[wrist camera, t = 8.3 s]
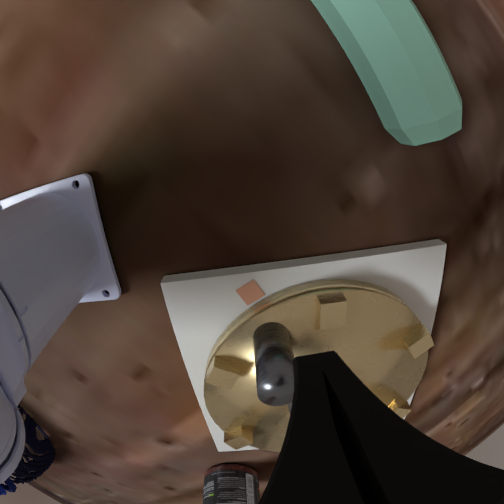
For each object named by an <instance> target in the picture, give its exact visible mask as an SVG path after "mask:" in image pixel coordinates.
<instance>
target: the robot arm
mask: <svg viewBox="0 0 504 504" xmlns="http://www.w3.org/2000/svg"><path fill="white" fill-rule="evenodd" d="M76 180H77V181H78V182H79V188H78V187H76V185H75V182H76ZM1 206H2V209H1ZM105 290H107V291H108V292H109V294H107V293H106V292H105ZM120 295H121V288H120V284H119V281H118V278H117V275H116V272H115V268H114V265H113V262H112V258H111V255H110V251H109V248H108V244H107V240H106V237H105V233H104V229H103V225H102V221H101V217H100V213H99V208H98V204H97V200H96V195H95V190H94V185H93V181H92V178H91V176H90V175H89V174H87V173H83V174H80V175H76V176H73V177H69V178H66V179H62V180H59V181H56V182H53V183H49V184H46V185H43V186H40V187H37V188H34V189H31V190H28V191H25V192H22V193H19V194H17V195H14V196H11V197H8V198H6V199H3V200H0V484H1V483H2V482H4V481H5V480H6V479H7V478H8V477H9V476H10V475H11V474H12V473H13V472H14V470H15V469H16V468H17V466H18V464H19V462H20V460H21V457H22V454H23V451H24V446H25V427H24V422H23V419H22V416H21V414H20V412H19V410H18V408H17V406H18V405H19V403H20V401H21V400H22V398H23V396H24V395H25V393H26V391H27V390H26V387H25V384H24V377H25V375H26V373H27V372H28V371H29V369H30V368H31V366H32V365H33V363H34V362H35V360H36V359H37V357H38V356H39V355H40V353H41V352H42V350H43V349H44V348H45V346H46V345H47V343H48V342H49V341H50V339H51V338H52V337H53V335H54V334H55V333H56V331H57V330H58V329H59V327H60V326H61V325H62V323H63V322H64V321H65V319H66V318H67V317H68V316H69V314H70V313H71V312H72V310H73V309H74V308H75V307H76V305H77V304H78V303H80V302H92V301H103V300H115V299H118V298H119V297H120ZM293 377H294V394H293V401H292V408H291V414H290V418H289V422H288V427H287V431H286V435H285V438H284V442H283V445H282V448H281V451H280V454H279V457H278V460H277V463H276V465H275V468H274V470H273V473H272V475H271V478H270V480H269V482H268V484H267V487H266V489H265V491H264V493H263V495H262V497H261V499H260V501H259V503H258V504H504V470H502V469H499V468H496V467H492V466H489V465H486V464H483V463H480V462H478V461H475V460H473V459H470V458H468V457H466V456H463V455H461V454H459V453H457V452H455V451H453V450H451V449H449V448H448V447H446V446H444V445H442V444H440V443H438V442H436V441H435V440H433V439H431V438H430V437H428V436H427V435H425V434H423V433H422V432H420V431H419V430H417V429H416V428H415V427H413V426H412V425H410V424H409V423H408V422H406V421H405V420H404V419H402V418H401V417H400V416H399V415H397V414H396V413H395V412H394V411H393V410H391V409H390V408H389V407H388V406H387V405H386V404H384V403H383V402H382V401H381V400H380V399H379V398H378V397H377V396H376V395H375V394H374V393H373V392H372V391H371V390H370V389H369V388H368V387H367V386H366V385H365V384H364V383H363V382H362V381H361V380H360V379H359V378H358V377H357V376H356V375H355V374H354V372H353V371H352V370H351V369H350V368H349V367H348V366H347V365H346V363H345V362H344V361H343V360H342V359H341V357H340V356H339V355H338V354H337V352H335V351H334V350H333V351H327V352H322V353H316V354H310V355H304V356H297V357H295V358H294V359H293Z"/></svg>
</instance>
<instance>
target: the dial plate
mask: <svg viewBox="0 0 504 504" xmlns="http://www.w3.org/2000/svg"><path fill="white" fill-rule="evenodd" d="M446 246H447V244H446V243H444V242H443V241H441V240H440V239H435V240H428V241H421V242H414V243H408V244H401V245H394V246H387V247H380V248H373V249H365V250H358V251H351V252H344V253H337V254H329V255H322V256H314V257H307V258H300V259H292V260H284V261H277V262H269V263H261V264H254V265H246V266H238V267H230V268H222V269H214V270H206V271H198V272H190V273H182V274H173V275H165V276H163V279H162V281H161V283H160V284H161V288H162V291H163V295H164V298H165V302H166V305H167V309H168V312H169V316H170V319H171V322H172V326H173V329H174V332H175V335H176V338H177V341H178V345H179V348H180V351H181V354H182V357H183V360H184V363H185V366H186V368H187V371H188V374H189V377H190V380H191V383H192V385H193V388H194V391H195V394H196V396H197V399H198V402H199V404H200V407H201V410H202V412H203V415H204V417H205V420H206V422H207V425H208V427H209V430H210V432H211V435H212V437H213V440H214V442H215V444H216V447H217V449H218V451H219V452H221V451H238V450H251V449H258V448H255V447H252V446H249V445H248V446H245V447H242V448H240V449H237V450H235V449H233V448H232V447H230V446H229V445H227V444H225V443H224V431H223V430H222V429H221V428H220V427H219V426H218V425H217V424H216V423H215V422H214V420H213V419H212V418H211V416H210V414H209V412H208V410H207V408H206V405H205V400H204V378H205V370H206V365H207V360H208V357H209V355H210V352H211V350H212V347H213V346H214V344H215V342H216V341H217V339H218V337H219V336H220V335H221V334H222V332H223V331H224V330H225V329H226V328H227V326H228V325H229V324H230V323H231V322H233V321H234V320H235V319H236V318H237V317H238V316H239V315H240V314H242V313H243V312H244V311H246V310H247V309H249V308H250V307H251V306H253V305H254V304H256V303H258V302H260V301H262V300H263V299H265V298H267V297H269V296H271V295H273V294H276V293H278V292H281V291H283V290H285V289H288V288H291V287H295V286H298V285H302V284H305V283H311V282H316V281H322V280H335V279H345V280H358V281H363V282H368V283H372V284H375V285H378V286H381V287H384V288H385V289H387V290H389V291H391V292H393V293H394V294H396V295H397V296H398V297H399V298H401V299H402V300H403V301H404V302H405V303H406V304H407V306H408V307H409V308H410V309H411V310H412V311H413V313H414V314H415V315H416V316H417V318H418V319H419V320H420V321H421V323H422V324H423V325H424V326H425V327H426V329H427V330H428V331H429V332H430V335H431V332H432V328H433V324H434V319H435V314H436V310H437V305H438V299H439V294H440V288H441V282H442V276H443V269H444V262H445V255H446ZM414 392H415V391H414ZM414 392H413V394H412V395H411V397H410V398H409V399H408V400H407V402H408V404H409V406H410V404H411V401H412V398H413V395H414ZM405 417H406V416H405ZM405 417H404V418H403V419H405Z"/></svg>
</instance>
